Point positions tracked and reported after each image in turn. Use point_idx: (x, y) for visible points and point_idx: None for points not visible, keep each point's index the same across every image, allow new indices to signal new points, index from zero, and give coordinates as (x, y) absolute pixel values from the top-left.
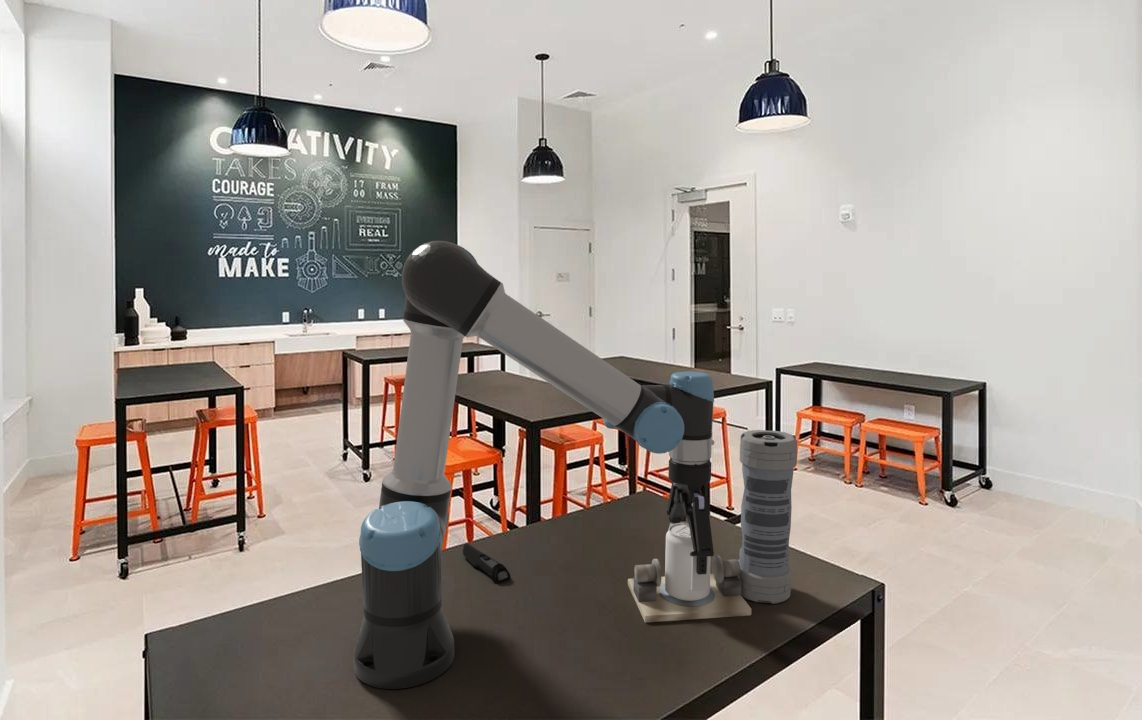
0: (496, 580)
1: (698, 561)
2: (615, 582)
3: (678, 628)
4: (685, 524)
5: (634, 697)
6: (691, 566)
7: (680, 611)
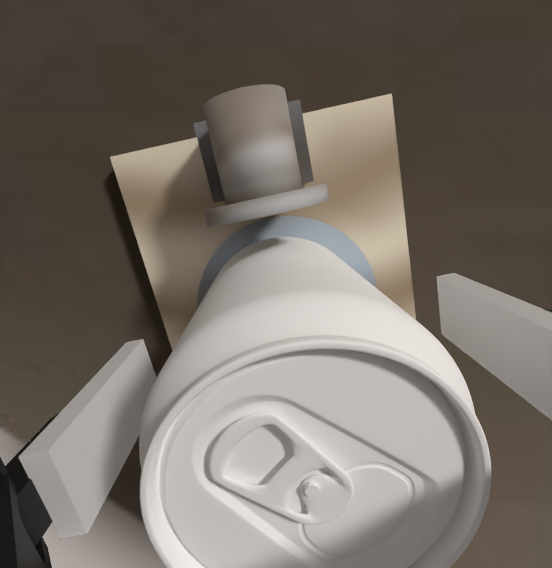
0: None
1: (13, 462)
2: (402, 48)
3: (107, 263)
4: (471, 476)
5: None
6: (95, 394)
7: (161, 278)
